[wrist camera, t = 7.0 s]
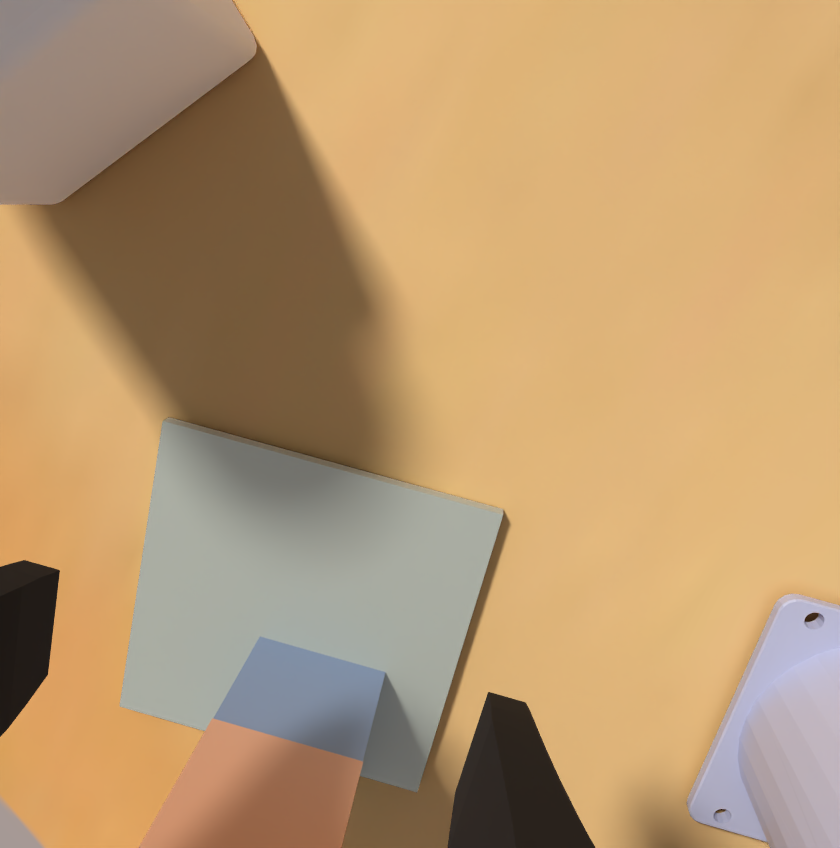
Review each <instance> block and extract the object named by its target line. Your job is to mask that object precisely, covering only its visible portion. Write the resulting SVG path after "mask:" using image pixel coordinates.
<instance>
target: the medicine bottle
mask: <svg viewBox="0 0 840 848" xmlns="http://www.w3.org/2000/svg"><path fill="white" fill-rule="evenodd" d="M256 49H257V45H256V42H255V38H254V36H253V34H252V32H251V31H250V29H249V28H248V26H247V24H246V23H245V21H244V19H243V18H242V16H241V14H240V13H239V11H238V9H237V8H236V6H235V5H234V3H233V1H232V0H0V204H27V205H54V204H57V203H60V202H62V201H63V200H64V199H66V198H67V197H68V196H70V195H71V194H72V193H74V192H75V191H76V190H78V189H79V188H80V187H82V186H83V185H84V184H86V183H87V182H88V181H90V180H91V179H92V178H94V177H95V176H96V175H98V174H99V173H100V172H102V171H103V170H104V169H106V168H107V167H108V166H110V165H111V164H112V163H114V162H115V161H116V160H118V159H119V158H120V157H122V156H123V155H124V154H126V153H127V152H128V151H130V150H131V149H132V148H134V147H135V146H136V145H138V144H139V143H140V142H142V141H143V140H144V139H146V138H147V137H148V136H150V135H151V134H152V133H154V132H155V131H156V130H158V129H159V128H160V127H162V126H163V125H164V124H166V123H167V122H168V121H170V120H171V119H172V118H174V117H175V116H176V115H178V114H179V113H180V112H182V111H183V110H184V109H186V108H187V107H188V106H190V105H191V104H192V103H194V102H195V101H196V100H198V99H199V98H200V97H202V96H203V95H204V94H206V93H207V92H208V91H210V90H211V89H212V88H214V87H215V86H216V85H218V84H219V83H220V82H222V81H223V80H224V79H226V78H227V77H228V76H230V75H231V74H232V73H234V72H235V71H236V70H238V69H239V68H240V67H242V66H243V65H244V64H246V63H247V62H248V61H250V60H251V59H252V58H253V56H254V55H255V54H256Z"/></svg>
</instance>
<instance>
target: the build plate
mask: <svg viewBox="0 0 840 848" xmlns="http://www.w3.org/2000/svg"><path fill="white" fill-rule="evenodd" d="M502 517H503V509H500V508H497V507H493V506H489V505H486V504H482V503H479V502H475V501H471V500H468V499H464V498H460V497H457V496H453V495H450V494H446V493H442V492H439V491H435V490H431V489H428V488H424V487H421V486H417V485H413V484H410V483H406V482H402V481H399V480H395V479H392V478H388V477H384V476H381V475H377V474H373V473H370V472H366V471H363V470H359V469H355V468H352V467H348V466H344V465H341V464H337V463H334V462H330V461H326V460H323V459H319V458H315V457H312V456H308V455H304V454H301V453H297V452H294V451H290V450H286V449H283V448H279V447H275V446H272V445H268V444H265V443H261V442H257V441H254V440H250V439H246V438H243V437H239V436H236V435H232V434H228V433H225V432H221V431H217V430H214V429H210V428H207V427H203V426H199V425H196V424H192V423H188V422H185V421H181V420H178V419H174V418H170V417H168V418H167V419H165V420H163V423H162V429H161V436H160V443H159V449H158V456H157V462H156V469H155V476H154V482H153V489H152V495H151V502H150V509H149V515H148V522H147V528H146V535H145V542H144V548H143V555H142V561H141V568H140V575H139V581H138V588H137V595H136V601H135V608H134V614H133V621H132V628H131V634H130V641H129V647H128V654H127V661H126V667H125V674H124V680H123V687H122V694H121V700H120V707H123V708H127V709H130V710H134V711H137V712H141V713H144V714H148V715H151V716H155V717H158V718H161V719H165V720H168V721H172V722H175V723H179V724H182V725H186V726H189V727H193V728H196V729H199V730H203V731H205V730H206V728H207V727H208V725H209V723H210V721H211V720H212V718H214V716H215V714H216V713H217V711H218V709H219V707H220V706H221V704H222V702H223V700H224V699H225V697H226V695H227V693H228V691H229V690H230V688H231V686H232V684H233V683H234V681H235V679H236V677H237V676H238V674H239V672H240V670H241V669H242V667H243V665H244V663H245V662H246V660H247V658H248V656H249V655H250V653H251V651H252V649H253V647H254V646H255V644H256V642H257V640H258V639H259V637H264V638H267V639H271V640H274V641H278V642H281V643H285V644H288V645H292V646H295V647H299V648H302V649H306V650H310V651H313V652H317V653H320V654H324V655H327V656H331V657H334V658H338V659H341V660H345V661H348V662H352V663H355V664H359V665H362V666H366V667H369V668H373V669H376V670H380V671H383V672H385V676H384V680H383V684H382V688H381V692H380V696H379V700H378V704H377V707H376V711H375V715H374V719H373V723H372V727H371V731H370V735H369V739H368V743H367V747H366V751H365V754H364V758H363V765H362V769H361V773H360V776H362V777H365V778H369V779H372V780H376V781H379V782H383V783H386V784H390V785H393V786H396V787H400V788H403V789H407V790H410V791H414V792H418V788H419V785H420V782H421V779H422V775H423V772H424V769H425V766H426V762H427V759H428V756H429V753H430V750H431V746H432V743H433V740H434V737H435V733H436V730H437V727H438V724H439V721H440V717H441V714H442V711H443V708H444V704H445V701H446V698H447V695H448V692H449V688H450V685H451V682H452V679H453V675H454V672H455V669H456V666H457V662H458V659H459V656H460V653H461V650H462V646H463V643H464V640H465V637H466V633H467V630H468V627H469V624H470V621H471V617H472V614H473V611H474V608H475V604H476V601H477V598H478V595H479V592H480V588H481V585H482V582H483V579H484V575H485V572H486V569H487V566H488V562H489V559H490V556H491V553H492V550H493V546H494V543H495V540H496V537H497V533H498V530H499V527H500V524H501V521H502Z"/></svg>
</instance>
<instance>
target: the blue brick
mask: <svg viewBox="0 0 840 848" xmlns="http://www.w3.org/2000/svg"><path fill="white" fill-rule="evenodd" d="M384 676H385V672H383V671H380V670H376V669H373V668H369V667H366V666H362V665H359V664H355V663H352V662H348V661H345V660H341V659H338V658H334V657H331V656H327V655H324V654H320V653H317V652H313V651H310V650H306V649H302V648H299V647H295V646H292V645H288V644H285V643H281V642H278V641H274V640H271V639H267V638H264V637H259V639H258V640H257V642H256V644H255V646H254V647H253V649H252V651H251V653H250V655H249V656H248V658H247V660H246V662H245V663H244V665H243V667H242V669H241V670H240V672H239V674H238V676H237V677H236V679H235V681H234V683H233V684H232V686H231V688H230V690H229V691H228V693H227V695H226V697H225V699H224V700H223V702H222V704H221V706H220V707H219V709H218V711H217V713H216V714H215V716H214V718H213V719H217V720H220V721H224V722H227V723H231V724H234V725H238V726H241V727H245V728H248V729H252V730H255V731H259V732H262V733H266V734H269V735H273V736H276V737H279V738H283V739H286V740H290V741H293V742H297V743H300V744H304V745H307V746H311V747H314V748H318V749H321V750H325V751H328V752H332V753H335V754H339V755H342V756H346V757H349V758H353V759H356V760H360V761H363V758H364V754H365V751H366V747H367V743H368V739H369V735H370V731H371V727H372V723H373V719H374V715H375V711H376V707H377V704H378V700H379V696H380V692H381V688H382V684H383V680H384Z"/></svg>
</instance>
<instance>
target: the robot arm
mask: <svg viewBox="0 0 840 848" xmlns="http://www.w3.org/2000/svg"><path fill="white" fill-rule="evenodd" d="M59 572H60V570H57V569H54V568H50V567H47V566H43V565H40V564H36V563H32V562H29V561H25V560H23V561H20V562H16V563H12V564H8V565H5V566H2V567H0V736H1V735H2V734H3V733H4V732H5V731H6V730H7V729H8V728H9V726H10V725H11V724H12V722H13V721H14V720H15V719H16V717H17V716H18V715H19V713H20V712H21V711H22V709H23V708H24V707H25V706H26V704H27V703H28V701H29V700H30V699H31V697H32V696H33V694H34V693H35V692H36V690H37V689H38V688H39V686H40V685H41V683H42V682H43V681H44V679H45V678H46V676H47V675H48V668H49V660H50V651H51V642H52V634H53V625H54V616H55V607H56V599H57V590H58V581H59ZM811 613H819V614H818V617H817V618H816V619H815V620H813V621H811V622H805V618H806V616H807V615H808V614H811ZM687 806H688V810H689V813H690V816H691V817H692V818H693V819H694V820H695V821H697V822H699V823H702V824H706V825H709V826H713V827H716V828H720V829H723V830H727V831H730V832H734V833H737V834H741V835H744V836H748V837H751V838H755V839H758V840H762V841H765V842H768V844H769V847H770V848H840V605H836V604H832V603H829V602H825V601H821V600H818V599H814V598H811V597H807V596H803V595H800V594H788V595H784V596H783V597H781V598H780V599H778V601H777V602H776V603H775V605H774V607H773V609H772V611H771V614H770V616H769V618H768V620H767V623H766V625H765V627H764V629H763V631H762V634H761V636H760V638H759V640H758V643H757V645H756V647H755V649H754V651H753V654H752V656H751V658H750V660H749V663H748V665H747V667H746V669H745V672H744V674H743V676H742V678H741V680H740V683H739V685H738V687H737V689H736V692H735V694H734V696H733V698H732V700H731V703H730V705H729V707H728V709H727V712H726V714H725V716H724V718H723V720H722V723H721V725H720V727H719V729H718V732H717V734H716V736H715V738H714V740H713V743H712V745H711V747H710V749H709V752H708V754H707V756H706V758H705V761H704V763H703V765H702V767H701V769H700V772H699V774H698V776H697V778H696V781H695V783H694V785H693V787H692V789H691V792H690V794H689V796H688V798H687ZM719 809H726V811H725V812H722V813H715V812H716V811H717V810H719ZM448 848H595V846H594V844H593V843H592V841H591V839H590V837H589V836H588V834H587V832H586V830H585V828H584V826H583V824H582V823H581V821H580V819H579V817H578V815H577V813H576V811H575V809H574V807H573V805H572V803H571V801H570V799H569V797H568V795H567V793H566V791H565V789H564V787H563V785H562V783H561V781H560V779H559V776H558V774H557V772H556V770H555V768H554V766H553V763H552V761H551V759H550V757H549V754H548V752H547V750H546V748H545V745H544V743H543V741H542V738H541V736H540V734H539V731H538V729H537V726H536V724H535V722H534V719H533V717H532V714H531V712H530V710H529V708H528V706H527V704H526V703H525V702H522V701H518V700H515V699H511V698H508V697H504V696H501V695H497V694H494V693H490V692H488V695H487V698H486V701H485V704H484V707H483V710H482V713H481V716H480V719H479V722H478V725H477V728H476V731H475V734H474V737H473V740H472V743H471V746H470V749H469V752H468V755H467V758H466V761H465V764H464V767H463V770H462V774H461V777H460V780H459V783H458V786H457V789H456V792H455V798H454V805H453V812H452V819H451V826H450V833H449V841H448Z"/></svg>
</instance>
